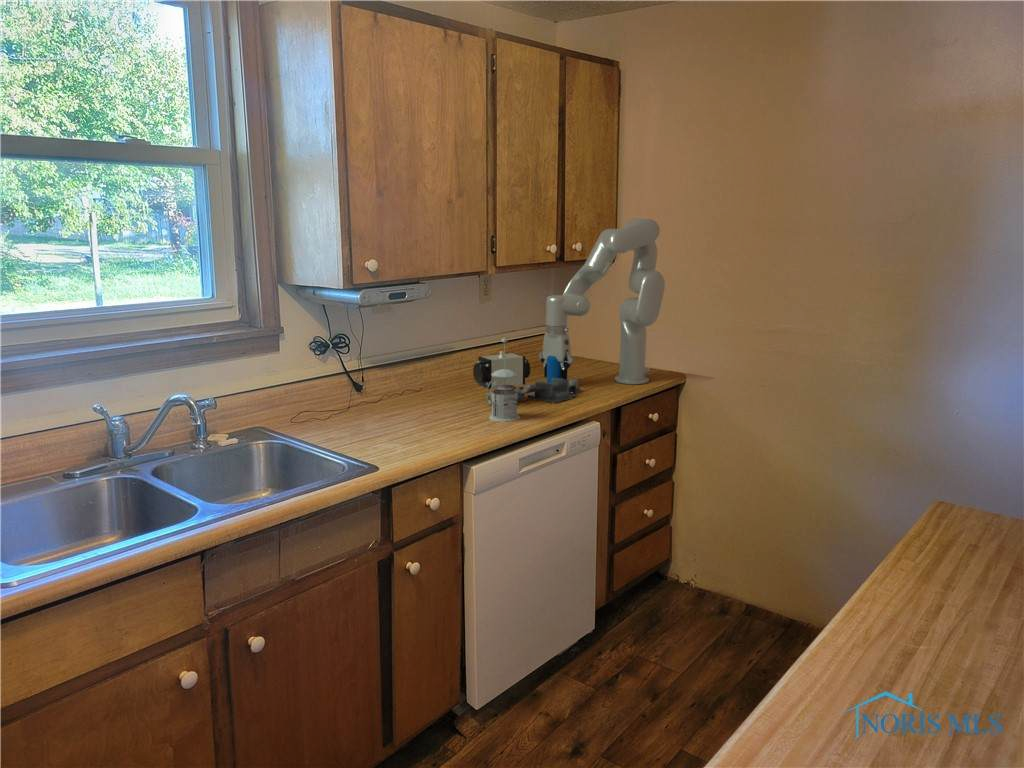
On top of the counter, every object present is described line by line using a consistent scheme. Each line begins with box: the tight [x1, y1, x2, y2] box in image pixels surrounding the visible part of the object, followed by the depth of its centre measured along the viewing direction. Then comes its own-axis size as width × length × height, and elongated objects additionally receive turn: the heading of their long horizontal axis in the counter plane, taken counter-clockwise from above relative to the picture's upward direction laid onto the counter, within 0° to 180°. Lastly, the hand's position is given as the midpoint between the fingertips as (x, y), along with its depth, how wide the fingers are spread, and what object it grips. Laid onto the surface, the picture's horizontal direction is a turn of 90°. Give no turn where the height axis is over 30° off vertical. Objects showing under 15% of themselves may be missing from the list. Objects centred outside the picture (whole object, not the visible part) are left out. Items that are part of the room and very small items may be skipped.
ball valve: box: [472, 350, 531, 405], centre depth 251 cm, size 18×8×18 cm, turn 120°
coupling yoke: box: [515, 377, 581, 404], centre depth 262 cm, size 24×15×6 cm, turn 137°
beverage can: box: [546, 355, 565, 383], centre depth 277 cm, size 6×6×12 cm
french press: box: [486, 337, 521, 423], centre depth 233 cm, size 10×12×25 cm
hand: (555, 377), depth 277 cm, fingers open, 6 cm apart
